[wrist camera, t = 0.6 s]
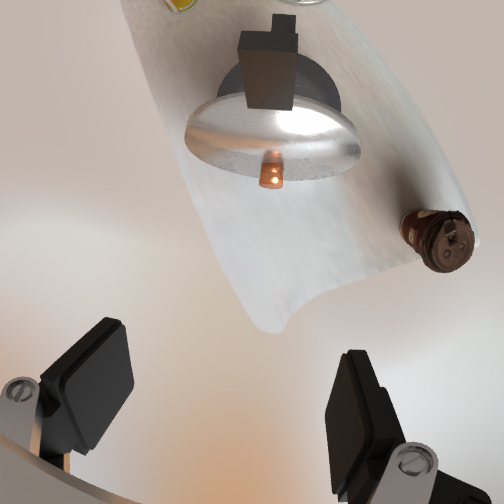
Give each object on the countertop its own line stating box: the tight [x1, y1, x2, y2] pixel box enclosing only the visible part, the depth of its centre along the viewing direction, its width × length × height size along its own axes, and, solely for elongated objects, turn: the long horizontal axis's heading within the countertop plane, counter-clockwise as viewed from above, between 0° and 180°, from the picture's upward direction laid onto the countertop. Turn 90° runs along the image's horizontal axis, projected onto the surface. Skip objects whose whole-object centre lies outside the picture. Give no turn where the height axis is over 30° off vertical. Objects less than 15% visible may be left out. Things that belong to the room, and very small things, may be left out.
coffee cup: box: [400, 209, 475, 273], centre depth 37 cm, size 9×8×13 cm
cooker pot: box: [217, 14, 341, 113], centre depth 36 cm, size 23×15×10 cm, turn 176°
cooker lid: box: [184, 31, 361, 189], centre depth 23 cm, size 22×16×3 cm
